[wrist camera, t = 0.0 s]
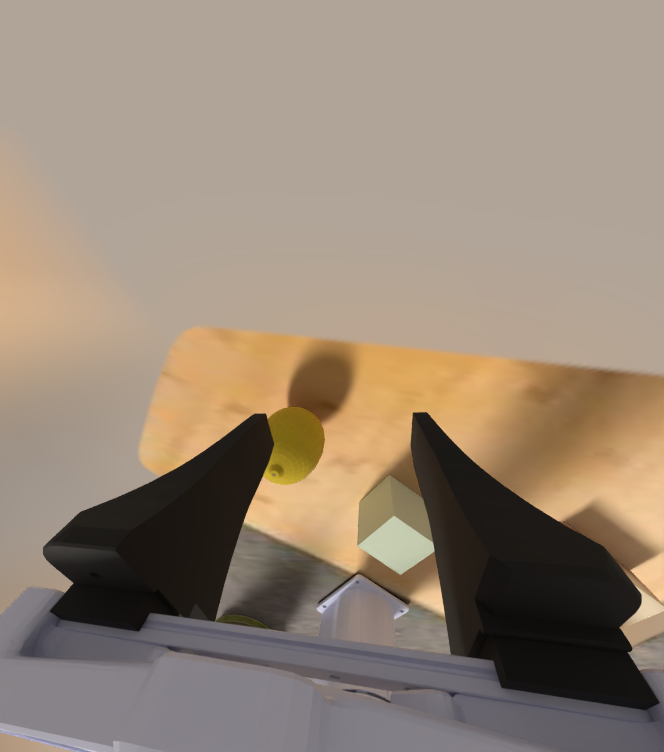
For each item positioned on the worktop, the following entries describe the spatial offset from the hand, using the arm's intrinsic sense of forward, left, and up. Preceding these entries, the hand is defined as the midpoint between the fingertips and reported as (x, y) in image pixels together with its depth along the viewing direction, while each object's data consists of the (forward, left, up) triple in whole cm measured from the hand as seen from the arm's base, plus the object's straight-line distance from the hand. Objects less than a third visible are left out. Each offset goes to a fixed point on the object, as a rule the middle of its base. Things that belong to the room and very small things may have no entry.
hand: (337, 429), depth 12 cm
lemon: (-7, +1, -11) cm, 13 cm away
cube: (-9, -12, -11) cm, 19 cm away
